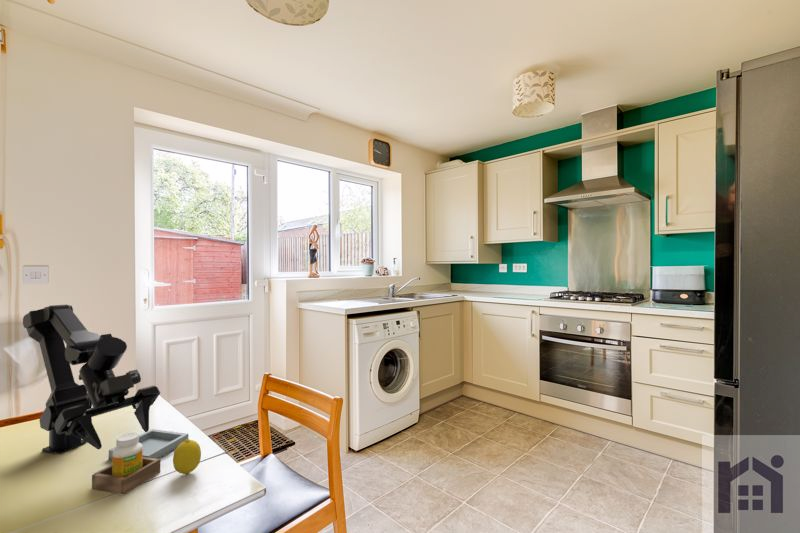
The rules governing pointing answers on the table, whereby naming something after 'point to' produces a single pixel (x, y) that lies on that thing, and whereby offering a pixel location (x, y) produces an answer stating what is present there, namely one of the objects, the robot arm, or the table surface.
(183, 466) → the lemon
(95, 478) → the brown wooden open box
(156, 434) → the parts tray
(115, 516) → the table surface
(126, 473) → the supplement bottle
